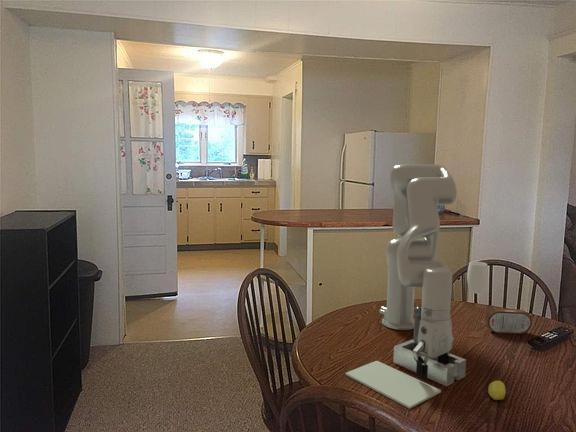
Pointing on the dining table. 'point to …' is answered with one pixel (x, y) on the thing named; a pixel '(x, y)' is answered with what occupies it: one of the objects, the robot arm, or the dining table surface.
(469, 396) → the dining table surface
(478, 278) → the cup
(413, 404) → the mat
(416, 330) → the stand
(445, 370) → the c link
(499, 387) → the lemon
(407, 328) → the robot arm
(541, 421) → the dining table surface
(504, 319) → the tin
